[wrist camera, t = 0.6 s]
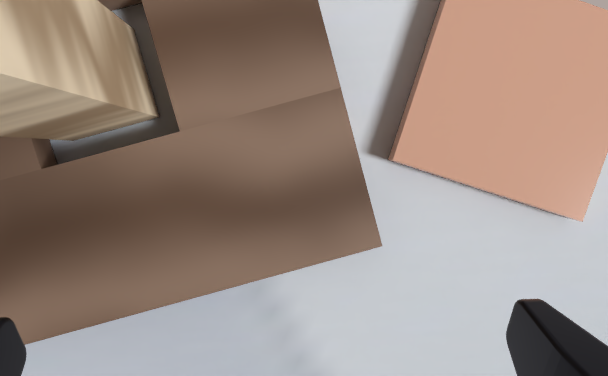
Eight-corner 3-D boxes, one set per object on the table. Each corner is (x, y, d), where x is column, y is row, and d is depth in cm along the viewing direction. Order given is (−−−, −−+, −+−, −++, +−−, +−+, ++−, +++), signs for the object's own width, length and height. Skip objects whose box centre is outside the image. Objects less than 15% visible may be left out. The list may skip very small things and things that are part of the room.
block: (159, 117, 21) (-6, 71, 9) (73, 140, 21) (-203, 125, 9) (133, 29, 21) (-72, -134, 9) (46, 52, 21) (-276, -80, 9)
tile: (569, 218, 22) (582, 221, 21) (388, 159, 22) (392, 160, 21) (636, 31, 22) (653, 26, 21) (451, -33, 21) (459, -42, 20)
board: (376, 239, 22) (382, 246, 21) (-44, 355, 22) (-68, 370, 20) (259, -203, 20) (257, -232, 19) (-194, -83, 20) (-232, -102, 19)
